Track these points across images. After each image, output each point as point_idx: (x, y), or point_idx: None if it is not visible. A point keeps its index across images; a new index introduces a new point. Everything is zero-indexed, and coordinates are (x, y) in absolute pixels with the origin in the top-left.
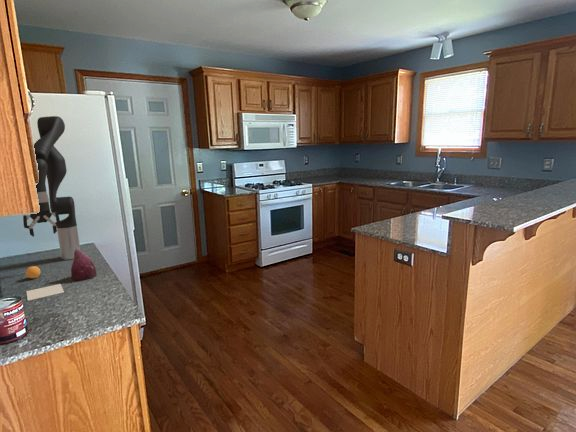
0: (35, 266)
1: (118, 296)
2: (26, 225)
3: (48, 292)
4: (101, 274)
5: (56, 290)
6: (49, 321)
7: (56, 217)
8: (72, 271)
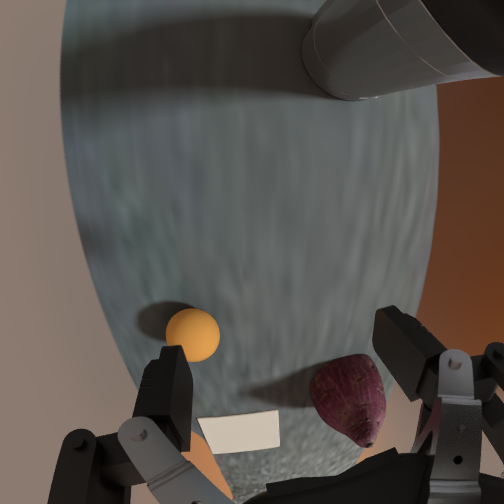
0: (203, 348)
1: (347, 465)
2: (123, 497)
3: (249, 440)
4: None
5: (265, 437)
6: (252, 492)
7: (501, 454)
8: (319, 415)
